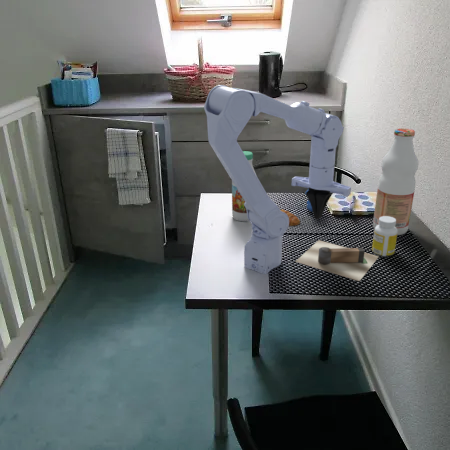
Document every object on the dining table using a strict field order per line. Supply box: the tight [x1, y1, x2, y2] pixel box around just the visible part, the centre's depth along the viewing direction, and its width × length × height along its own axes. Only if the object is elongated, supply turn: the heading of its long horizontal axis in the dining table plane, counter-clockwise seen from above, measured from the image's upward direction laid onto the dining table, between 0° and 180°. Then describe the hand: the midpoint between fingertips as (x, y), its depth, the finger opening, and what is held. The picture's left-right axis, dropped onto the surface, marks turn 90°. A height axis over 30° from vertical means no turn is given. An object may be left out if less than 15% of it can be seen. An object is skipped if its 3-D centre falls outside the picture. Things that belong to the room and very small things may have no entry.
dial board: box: [295, 239, 380, 282], centre depth 108 cm, size 14×16×1 cm
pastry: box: [280, 209, 301, 227], centre depth 129 cm, size 9×7×4 cm
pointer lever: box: [318, 247, 366, 264], centre depth 105 cm, size 11×3×3 cm, turn 90°
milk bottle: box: [231, 150, 258, 222], centre depth 130 cm, size 8×8×20 cm
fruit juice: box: [372, 127, 419, 236], centre depth 118 cm, size 9×9×28 cm
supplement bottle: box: [371, 216, 398, 257], centre depth 109 cm, size 5×5×10 cm
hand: (318, 217), depth 110 cm, fingers closed
